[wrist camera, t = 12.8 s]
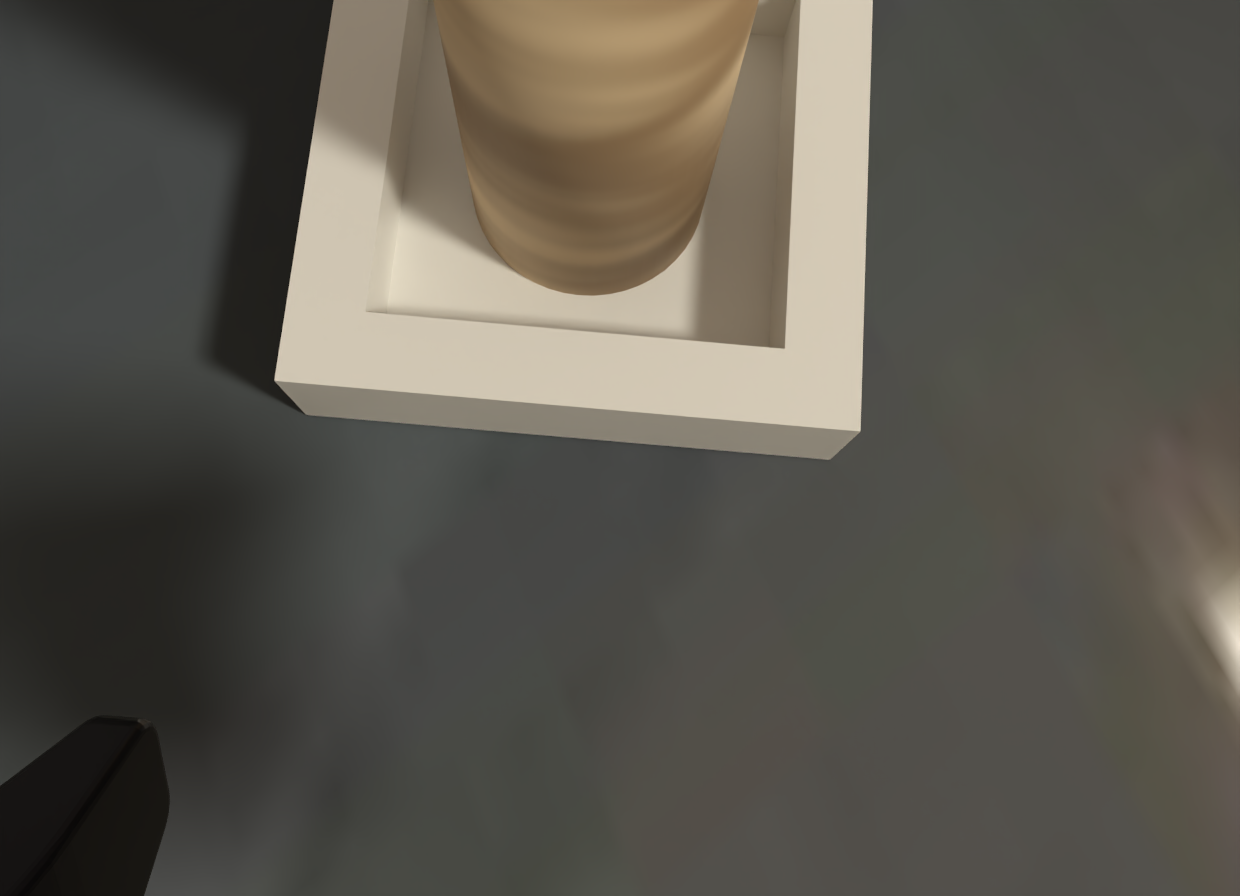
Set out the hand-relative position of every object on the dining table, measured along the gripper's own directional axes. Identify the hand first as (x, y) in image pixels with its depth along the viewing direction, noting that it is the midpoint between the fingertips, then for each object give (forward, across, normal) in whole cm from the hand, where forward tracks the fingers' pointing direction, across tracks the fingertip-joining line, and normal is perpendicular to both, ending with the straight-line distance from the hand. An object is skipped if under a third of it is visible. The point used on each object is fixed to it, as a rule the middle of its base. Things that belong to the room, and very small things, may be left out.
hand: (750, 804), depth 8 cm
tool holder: (+18, +2, +2) cm, 18 cm away
